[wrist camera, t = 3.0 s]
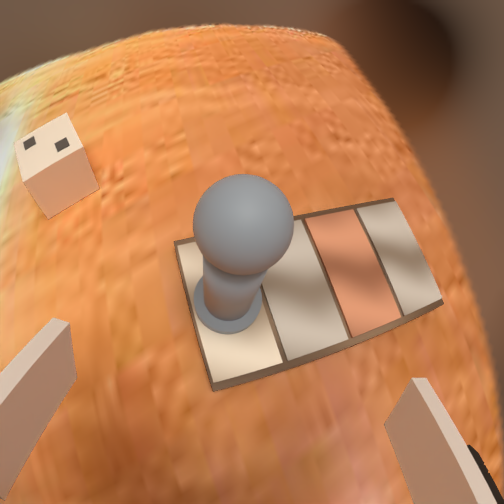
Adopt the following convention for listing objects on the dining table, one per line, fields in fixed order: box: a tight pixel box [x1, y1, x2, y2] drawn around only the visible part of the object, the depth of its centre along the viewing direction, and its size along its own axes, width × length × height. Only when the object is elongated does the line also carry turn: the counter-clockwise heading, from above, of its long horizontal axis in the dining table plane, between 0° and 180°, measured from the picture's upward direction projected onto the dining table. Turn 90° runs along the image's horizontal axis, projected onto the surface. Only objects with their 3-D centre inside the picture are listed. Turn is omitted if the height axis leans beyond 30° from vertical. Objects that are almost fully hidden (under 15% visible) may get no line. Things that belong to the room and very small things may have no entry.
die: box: [14, 113, 100, 220], centre depth 25 cm, size 6×6×6 cm
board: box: [174, 198, 444, 392], centre depth 26 cm, size 12×22×2 cm, turn 107°
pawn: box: [193, 174, 294, 334], centre depth 18 cm, size 5×5×13 cm
